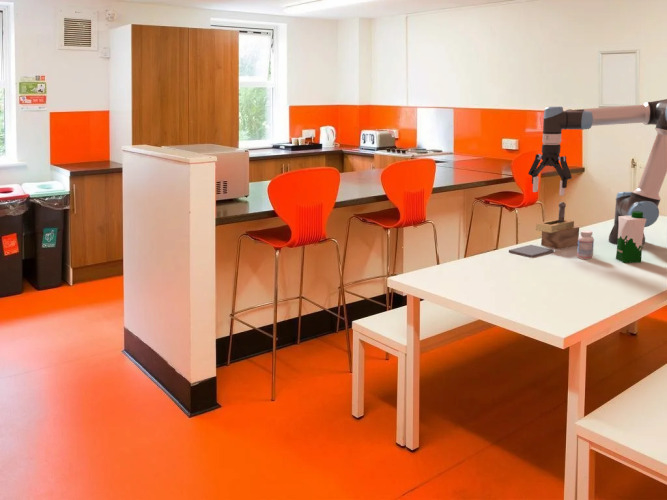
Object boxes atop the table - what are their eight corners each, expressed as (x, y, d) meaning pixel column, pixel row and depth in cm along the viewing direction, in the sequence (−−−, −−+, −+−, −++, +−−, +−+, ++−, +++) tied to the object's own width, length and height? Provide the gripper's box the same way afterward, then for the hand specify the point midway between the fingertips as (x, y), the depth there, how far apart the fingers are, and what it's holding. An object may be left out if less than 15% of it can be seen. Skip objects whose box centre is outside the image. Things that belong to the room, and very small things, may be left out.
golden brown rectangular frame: (573, 227, 297) (574, 221, 296) (551, 232, 288) (551, 226, 287) (558, 224, 303) (558, 218, 303) (535, 229, 294) (536, 223, 294)
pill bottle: (580, 255, 282) (582, 229, 280) (594, 257, 278) (597, 231, 275) (574, 257, 278) (576, 231, 275) (588, 260, 274) (590, 233, 271)
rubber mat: (553, 251, 288) (553, 249, 288) (531, 257, 280) (531, 255, 279) (530, 246, 298) (530, 244, 297) (508, 252, 289) (508, 250, 289)
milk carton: (644, 263, 268) (649, 214, 264) (622, 263, 268) (627, 214, 263) (633, 257, 277) (637, 210, 272) (612, 258, 276) (616, 210, 271)
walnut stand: (578, 244, 300) (581, 201, 295) (560, 249, 292) (563, 205, 288) (559, 240, 308) (561, 198, 303) (541, 245, 300) (543, 202, 296)
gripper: (521, 142, 291) (519, 191, 296) (571, 146, 271) (568, 198, 276) (532, 141, 295) (530, 189, 300) (582, 145, 275) (578, 196, 281)
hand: (548, 193), depth 288 cm, fingers open, 13 cm apart
